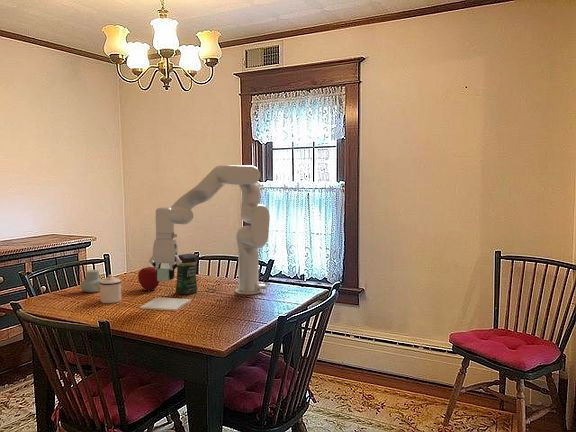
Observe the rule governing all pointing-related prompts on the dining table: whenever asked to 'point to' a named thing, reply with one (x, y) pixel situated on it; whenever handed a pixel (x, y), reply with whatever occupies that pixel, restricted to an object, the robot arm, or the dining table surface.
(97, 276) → the air freshener
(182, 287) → the coffee jar
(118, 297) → the teacup with lid
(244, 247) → the robot arm
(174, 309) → the tile
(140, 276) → the apple
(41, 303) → the dining table surface
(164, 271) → the block
